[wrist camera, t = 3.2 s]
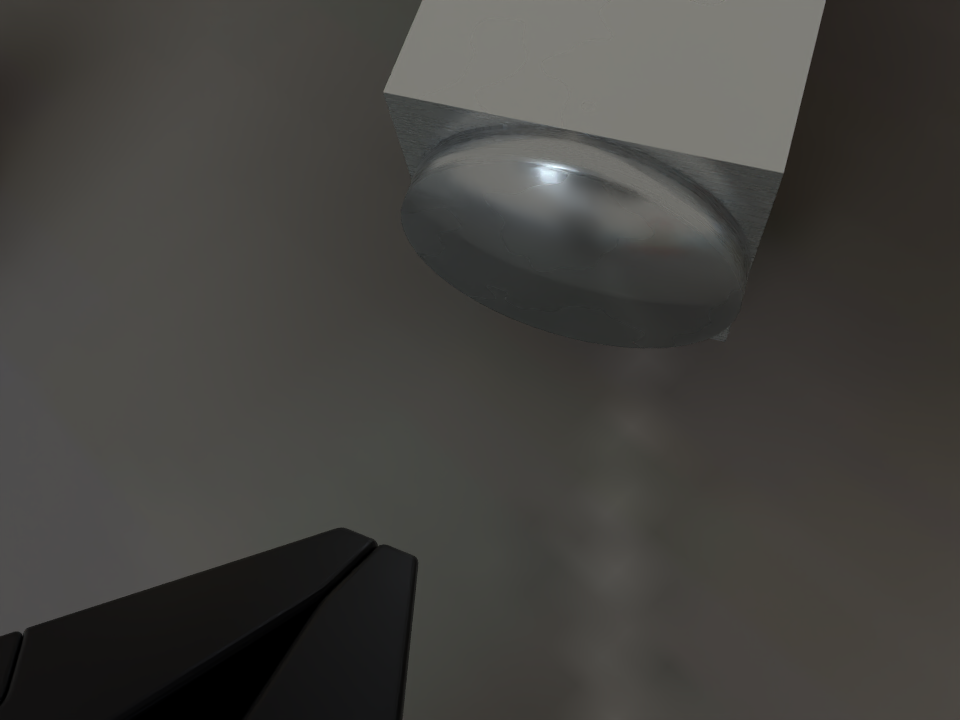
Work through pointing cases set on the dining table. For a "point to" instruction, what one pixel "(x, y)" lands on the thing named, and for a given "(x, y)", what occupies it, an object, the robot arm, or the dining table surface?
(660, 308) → the cube on metal disc
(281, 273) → the dining table surface
